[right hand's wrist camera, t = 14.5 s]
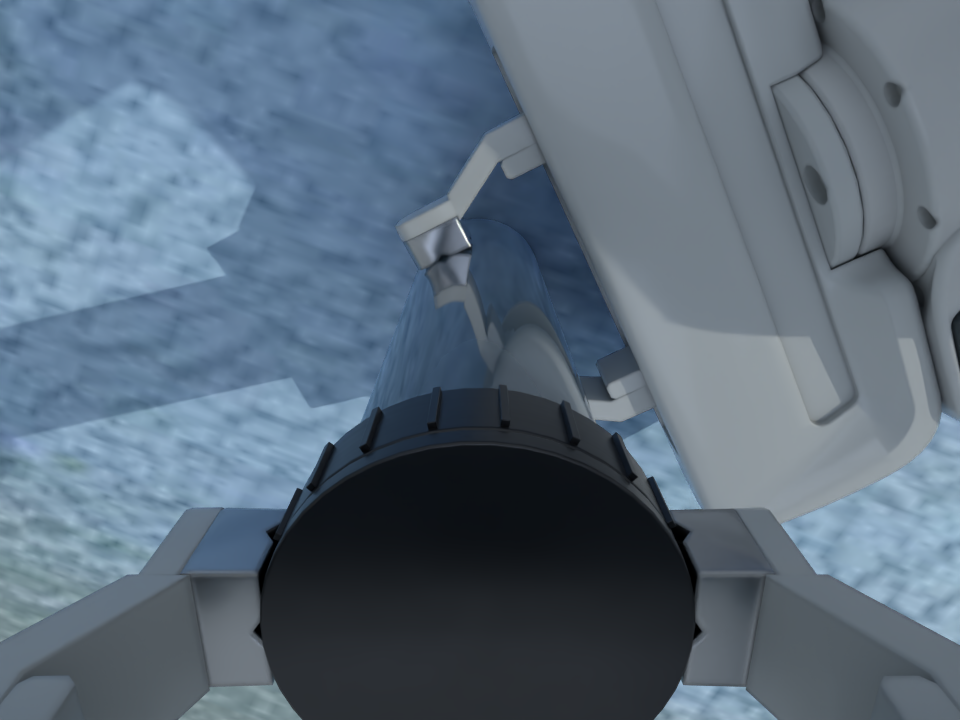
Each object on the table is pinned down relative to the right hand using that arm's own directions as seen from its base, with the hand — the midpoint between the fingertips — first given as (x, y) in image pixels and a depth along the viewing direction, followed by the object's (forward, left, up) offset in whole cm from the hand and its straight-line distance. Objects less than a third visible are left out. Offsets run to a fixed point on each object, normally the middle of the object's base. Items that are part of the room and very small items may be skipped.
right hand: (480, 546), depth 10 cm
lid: (0, 0, +2) cm, 2 cm away
